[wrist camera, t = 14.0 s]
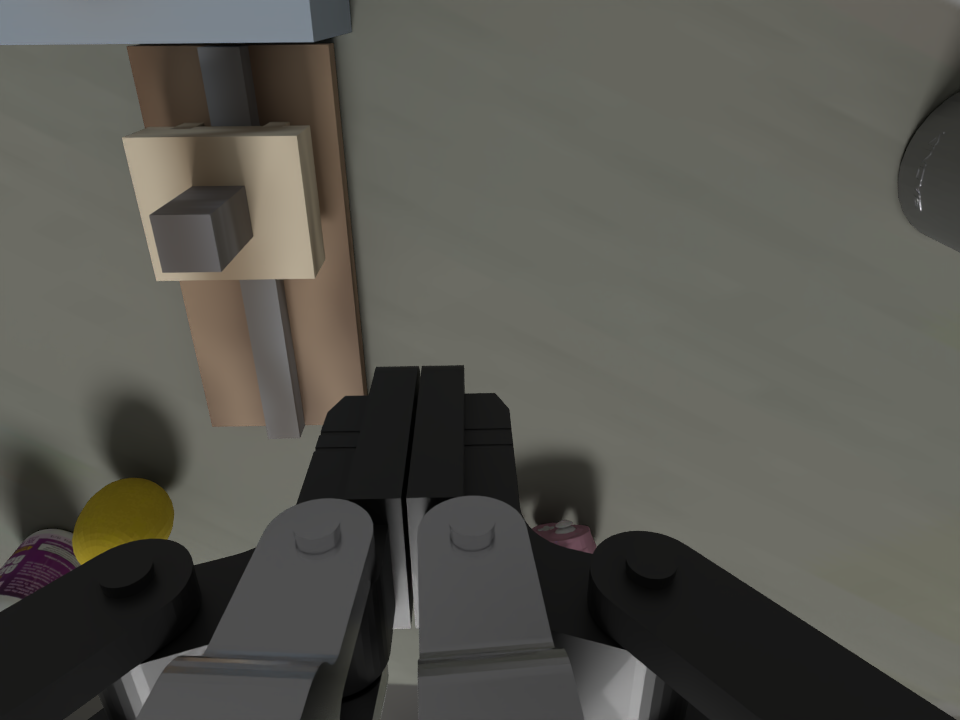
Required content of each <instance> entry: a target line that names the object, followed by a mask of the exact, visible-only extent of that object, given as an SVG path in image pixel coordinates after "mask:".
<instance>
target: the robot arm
mask: <svg viewBox="0 0 960 720" xmlns="http://www.w3.org/2000/svg"><path fill="white" fill-rule="evenodd" d="M898 198H899V201H900V204H901V208H902V211H903V213H904V214H905V216H906V218H907V219H908V221H909V222H910V224H911V225H913V226H914V227H915V228H916V229H917V230H918V231H919V232H921V233H922V234H924V235H926V236H928V237H930V238H932V239H934V240H936V241H938V242H940V243H942V244H944V245H946V246H948V247H950V248H952V249H954V250H956V251H958V252H960V91H959V92H958V93H956V94H955V95H953V96H952V97H950V98H948V99H947V100H946V101H944V102H943V103H942V104H941V105H940V106H939V107H938V108H937V109H935V110H934V111H933V112H932V113H931V114H930V115H929V116H928V118H927V119H926V120H925V121H924V122H923V124H922V125H921V126H920V127H919V128H918V130H917V131H916V133H915V135H914V136H913V138H912V140H911V141H910V143H909V145H908V147H907V149H906V152H905V154H904V157H903V160H902V162H901V165H900V171H899V177H898ZM315 448H316V451H315V452H314V453H313V456H312V459H311V462H310V465H309V468H308V471H307V474H306V477H305V480H304V483H303V486H302V489H301V492H300V495H299V498H298V501H297V504H296V505H295V506H292V507H290V508H288V509H286V510H285V511H283V512H282V513H280V514H279V515H278V516H276V517H275V518H274V519H273V520H272V521H271V522H270V523H269V525H268V526H267V527H266V529H265V531H264V532H263V534H262V536H261V538H260V540H259V542H258V545H257V547H256V548H253V549H251V550H249V551H246V552H243V553H240V554H237V555H233V556H229V557H225V558H221V559H217V560H213V561H210V562H206V563H202V564H198V565H193V561H192V557H191V555H190V553H189V551H188V550H187V549H186V548H185V547H184V546H182V545H180V544H179V543H177V542H174V541H171V540H166V539H142V540H136V541H132V542H128V543H125V544H121V545H119V546H116V547H114V548H111V549H109V550H107V551H105V552H103V553H101V554H99V555H98V556H96V557H94V558H92V559H91V560H89V561H87V562H85V563H84V564H82V565H80V566H79V567H77V568H75V569H73V570H72V571H70V572H68V573H66V574H65V575H63V576H61V577H60V578H58V579H56V580H54V581H53V582H51V583H49V584H47V585H46V586H44V587H42V588H41V589H39V590H37V591H35V592H34V593H32V594H30V595H29V596H27V597H25V598H23V599H22V600H20V601H18V602H16V603H15V604H13V605H11V606H10V607H8V608H6V609H4V610H3V611H1V612H0V720H63V719H64V718H66V717H67V716H69V715H70V714H72V713H73V712H74V711H76V710H77V709H79V708H80V707H81V706H83V705H84V704H85V703H87V702H88V701H90V700H91V699H92V698H94V697H95V696H96V695H98V696H99V698H100V701H101V703H102V705H103V709H101V710H100V711H99V712H97V713H96V714H95V715H93V716H92V717H91V718H89V719H88V720H381V715H382V710H383V705H384V700H385V695H386V690H387V685H388V676H389V675H388V665H387V663H388V660H389V656H390V651H391V642H392V634H393V629H411V622H412V610H413V599H414V612H415V625H416V628H419V651H420V659H418V720H956V719H954V718H953V717H951V716H950V715H948V714H947V713H945V712H944V711H942V710H941V709H939V708H937V707H936V706H934V705H933V704H931V703H930V702H928V701H927V700H925V699H924V698H922V697H920V696H919V695H917V694H916V693H914V692H913V691H911V690H910V689H908V688H906V687H905V686H903V685H902V684H900V683H899V682H897V681H896V680H894V679H893V678H891V677H889V676H888V675H886V674H885V673H883V672H882V671H880V670H879V669H877V668H876V667H874V666H872V665H871V664H869V663H868V662H866V661H865V660H863V659H862V658H860V657H859V656H857V655H855V654H854V653H852V652H851V651H849V650H848V649H846V648H845V647H843V646H842V645H840V644H838V643H837V642H835V641H834V640H832V639H831V638H829V637H828V636H826V635H825V634H823V633H821V632H820V631H818V630H817V629H815V628H814V627H812V626H811V625H809V624H807V623H806V622H804V621H803V620H801V619H800V618H798V617H797V616H795V615H794V614H792V613H790V612H789V611H787V610H786V609H784V608H783V607H781V606H780V605H778V604H777V603H775V602H773V601H772V600H770V599H769V598H767V597H766V596H764V595H763V594H761V593H760V592H758V591H756V590H755V589H753V588H752V587H750V586H749V585H747V584H746V583H744V582H743V581H741V580H739V579H738V578H736V577H735V576H733V575H732V574H730V573H729V572H727V571H726V570H724V569H722V568H721V567H719V566H718V565H716V564H715V563H713V562H712V561H710V560H708V559H707V558H705V557H704V556H702V555H701V554H699V553H698V552H696V551H695V550H693V549H691V548H690V547H688V546H687V545H685V544H683V543H682V542H680V541H678V540H676V539H674V538H671V537H669V536H666V535H662V534H659V533H654V532H648V531H629V532H623V533H619V534H616V535H613V536H611V537H609V538H607V539H605V540H604V541H603V542H602V543H600V544H599V545H598V546H597V548H596V549H595V550H594V552H593V554H591V553H587V552H583V551H578V550H574V549H570V548H566V547H563V546H559V545H557V544H554V543H552V542H550V541H548V540H546V539H544V538H543V537H541V536H540V535H538V534H537V533H536V532H534V531H533V530H532V529H531V528H530V527H529V526H528V524H527V523H526V521H525V520H524V518H523V516H522V514H521V510H520V503H519V494H518V485H517V476H516V467H515V457H514V448H513V439H512V432H511V421H510V412H509V408H508V407H507V406H506V405H505V404H504V403H503V402H502V400H501V399H500V398H499V397H498V396H497V395H496V394H495V393H476V394H465V385H464V365H455V366H422V369H421V378H420V369H419V366H400V367H376V369H375V373H374V377H373V381H372V385H371V389H370V393H369V395H362V396H344V397H343V398H342V399H341V400H340V401H339V402H338V403H337V404H336V405H335V406H334V407H333V408H331V409H330V410H329V411H328V412H327V415H326V418H325V421H324V424H323V427H322V430H321V435H319V438H318V441H317V444H316V447H315Z"/></svg>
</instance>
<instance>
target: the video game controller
mask: <svg viewBox="0 0 960 720" xmlns="http://www.w3.org/2000/svg"><path fill="white" fill-rule="evenodd" d="M572 524H573V522H572V521H568V520H562V521H560V522H558V523H547V524H542V525H538V526H536V527H534V528H532V530H533V531H534V532H536V533H537V534H538V535H540V536H541V537H543V538H544V539H546V540H548V541H550V542H552V543H554V544H557V545H559V546H563V547H566V548H570V549H574V550H578V551H583V552H587V553H591V554H593V552H594V550H595V549H596V544H595V542H594V539H593V537H592V535H591V532H590V528H589V527H588V526H585V525H572Z"/></svg>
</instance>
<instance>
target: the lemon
mask: <svg viewBox="0 0 960 720" xmlns="http://www.w3.org/2000/svg"><path fill="white" fill-rule="evenodd" d="M173 520H174V510H173V505H172V501H171V499H170V498H169V496H168V494H167V493H166V491H165V490H164V489H163V488H162V487H160V486H159V485H158V484H156V483H154V482H152V481H150V480H147V479H143V478H126V479H120V480H118V481H115V482H112V483H110V484H108V485H106V486H105V487H103V488H102V489H101V490H100V491H98V492H97V493H96V494H95V495H94V496H93V497H92V498H91V499H90V500H89V501H88V502H87V504H86V505H85V507H84V508H83V510H82V511H81V513H80V515H79V517H78V519H77V521H76V524H75V528H74V532H73V537H72V546H73V552H74V554H75V556H76V559H77V561H78V562H79V563H80V564H81V565H82V564H84V563H85V562H87V561H89V560H91V559H92V558H94V557H96V556H98V555H99V554H101V553H103V552H105V551H107V550H109V549H111V548H114V547H116V546H119V545H121V544H125V543H128V542H132V541H136V540H142V539H166V540H167V539H168V537H169V535H170V533H171V530H172V527H173Z"/></svg>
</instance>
